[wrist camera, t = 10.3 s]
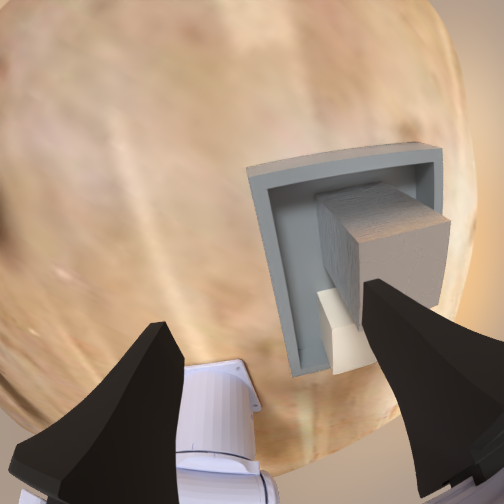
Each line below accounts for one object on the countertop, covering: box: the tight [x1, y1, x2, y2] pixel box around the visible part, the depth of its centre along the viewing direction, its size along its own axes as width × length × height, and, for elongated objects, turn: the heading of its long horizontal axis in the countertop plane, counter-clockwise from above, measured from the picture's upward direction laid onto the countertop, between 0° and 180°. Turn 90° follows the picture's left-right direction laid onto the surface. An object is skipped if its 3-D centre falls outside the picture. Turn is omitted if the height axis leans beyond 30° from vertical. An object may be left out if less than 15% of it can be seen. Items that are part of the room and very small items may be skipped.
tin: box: [313, 181, 451, 332], centre depth 14 cm, size 5×5×7 cm
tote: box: [246, 142, 443, 377], centre depth 18 cm, size 16×12×3 cm
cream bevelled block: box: [317, 288, 378, 375], centre depth 19 cm, size 5×6×4 cm
